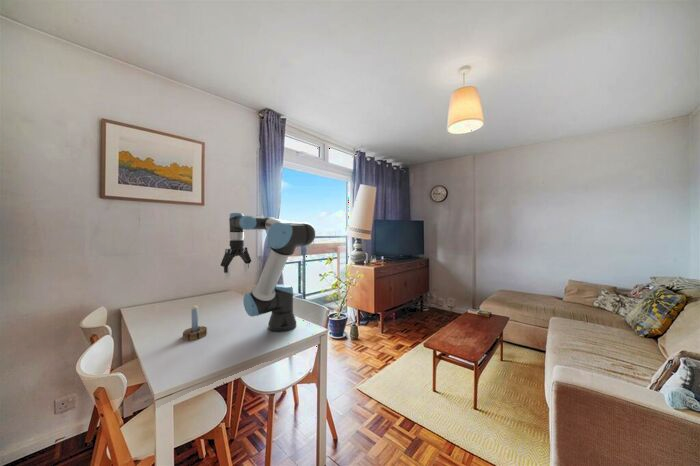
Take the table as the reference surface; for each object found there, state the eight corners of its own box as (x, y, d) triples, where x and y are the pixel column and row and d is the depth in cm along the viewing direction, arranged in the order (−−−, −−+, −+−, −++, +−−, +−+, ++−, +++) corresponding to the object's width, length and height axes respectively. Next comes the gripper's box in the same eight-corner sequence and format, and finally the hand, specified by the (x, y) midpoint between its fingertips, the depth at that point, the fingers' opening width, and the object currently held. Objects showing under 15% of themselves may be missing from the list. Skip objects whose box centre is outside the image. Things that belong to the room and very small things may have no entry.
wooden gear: (211, 333, 128) (211, 327, 128) (192, 341, 118) (192, 335, 118) (197, 330, 132) (197, 325, 131) (178, 338, 122) (178, 332, 122)
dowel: (199, 335, 126) (199, 305, 126) (194, 337, 123) (194, 306, 123) (195, 334, 127) (195, 304, 127) (190, 336, 124) (190, 306, 124)
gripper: (248, 238, 156) (248, 272, 156) (212, 240, 133) (213, 279, 133) (257, 239, 153) (257, 273, 153) (223, 240, 130) (223, 281, 130)
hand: (237, 276), depth 143 cm, fingers open, 13 cm apart
